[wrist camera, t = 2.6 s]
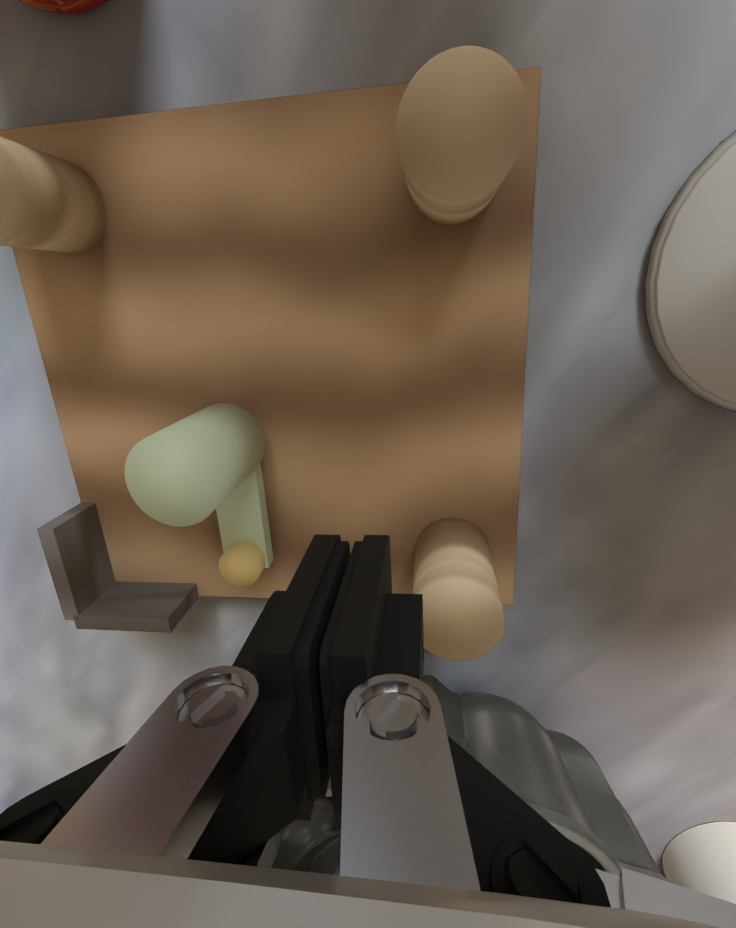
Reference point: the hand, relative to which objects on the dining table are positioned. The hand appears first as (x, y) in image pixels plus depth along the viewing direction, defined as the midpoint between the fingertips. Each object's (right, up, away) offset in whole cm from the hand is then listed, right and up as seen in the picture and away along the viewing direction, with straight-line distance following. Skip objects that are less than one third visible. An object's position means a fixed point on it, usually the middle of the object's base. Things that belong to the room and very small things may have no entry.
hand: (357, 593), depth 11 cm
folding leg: (-6, +2, +12) cm, 14 cm away
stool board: (-4, +7, +13) cm, 15 cm away
